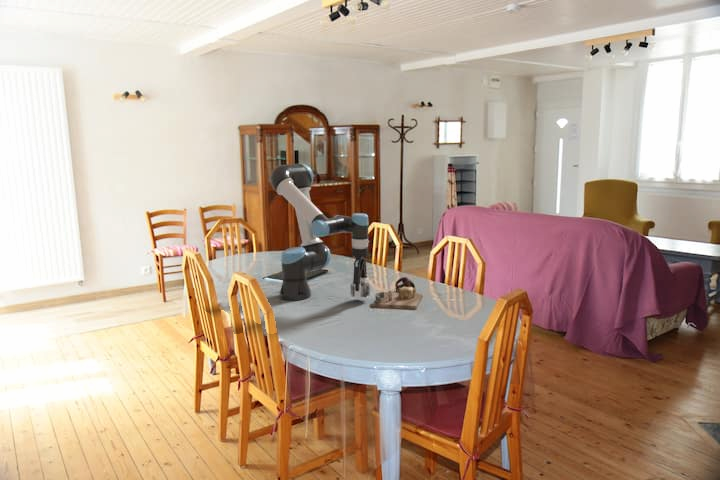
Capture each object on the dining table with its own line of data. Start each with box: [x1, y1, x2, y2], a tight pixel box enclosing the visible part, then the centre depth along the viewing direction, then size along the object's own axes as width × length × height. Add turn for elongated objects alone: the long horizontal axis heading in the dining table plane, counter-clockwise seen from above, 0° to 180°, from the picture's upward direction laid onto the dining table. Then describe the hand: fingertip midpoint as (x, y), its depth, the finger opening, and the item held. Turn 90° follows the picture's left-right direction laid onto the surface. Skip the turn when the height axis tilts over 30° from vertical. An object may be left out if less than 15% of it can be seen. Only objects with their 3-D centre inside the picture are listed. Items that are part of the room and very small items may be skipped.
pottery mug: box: [394, 276, 417, 293], centre depth 277 cm, size 12×10×8 cm
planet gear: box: [350, 282, 371, 298], centre depth 261 cm, size 9×9×5 cm
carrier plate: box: [371, 286, 424, 310], centre depth 259 cm, size 20×20×6 cm
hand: (360, 294), depth 261 cm, fingers closed on planet gear, 9 cm apart
